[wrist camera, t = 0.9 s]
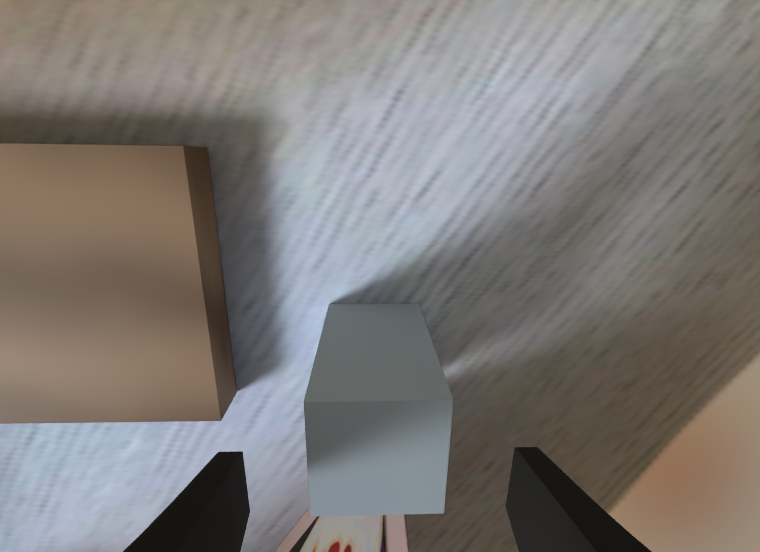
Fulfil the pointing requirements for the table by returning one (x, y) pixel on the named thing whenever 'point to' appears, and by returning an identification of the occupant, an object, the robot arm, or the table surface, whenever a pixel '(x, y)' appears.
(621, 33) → the table surface
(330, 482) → the slate block
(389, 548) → the greeting card
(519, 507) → the robot arm
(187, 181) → the walnut base
